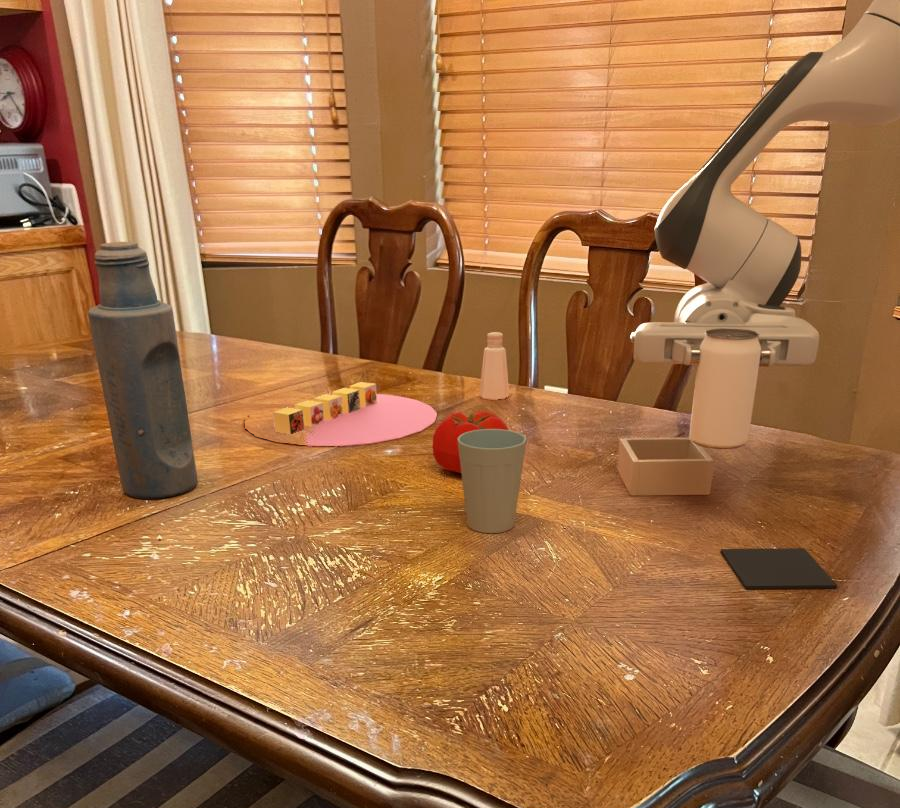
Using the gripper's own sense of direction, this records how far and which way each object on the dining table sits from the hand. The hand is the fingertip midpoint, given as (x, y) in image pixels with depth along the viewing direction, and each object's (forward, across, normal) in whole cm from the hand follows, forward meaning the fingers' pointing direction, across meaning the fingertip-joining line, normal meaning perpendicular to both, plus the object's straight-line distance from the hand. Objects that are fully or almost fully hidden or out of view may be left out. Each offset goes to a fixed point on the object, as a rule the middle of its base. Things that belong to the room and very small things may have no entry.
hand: (730, 358), depth 93 cm
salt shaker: (-55, -32, +19) cm, 66 cm away
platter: (-38, -56, +19) cm, 70 cm away
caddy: (-12, -5, +19) cm, 23 cm away
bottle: (-2, -70, +18) cm, 72 cm away
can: (-1, 0, +10) cm, 10 cm away
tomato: (-14, -30, +19) cm, 39 cm away
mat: (+13, +5, +19) cm, 23 cm away
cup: (+5, -25, +19) cm, 32 cm away
